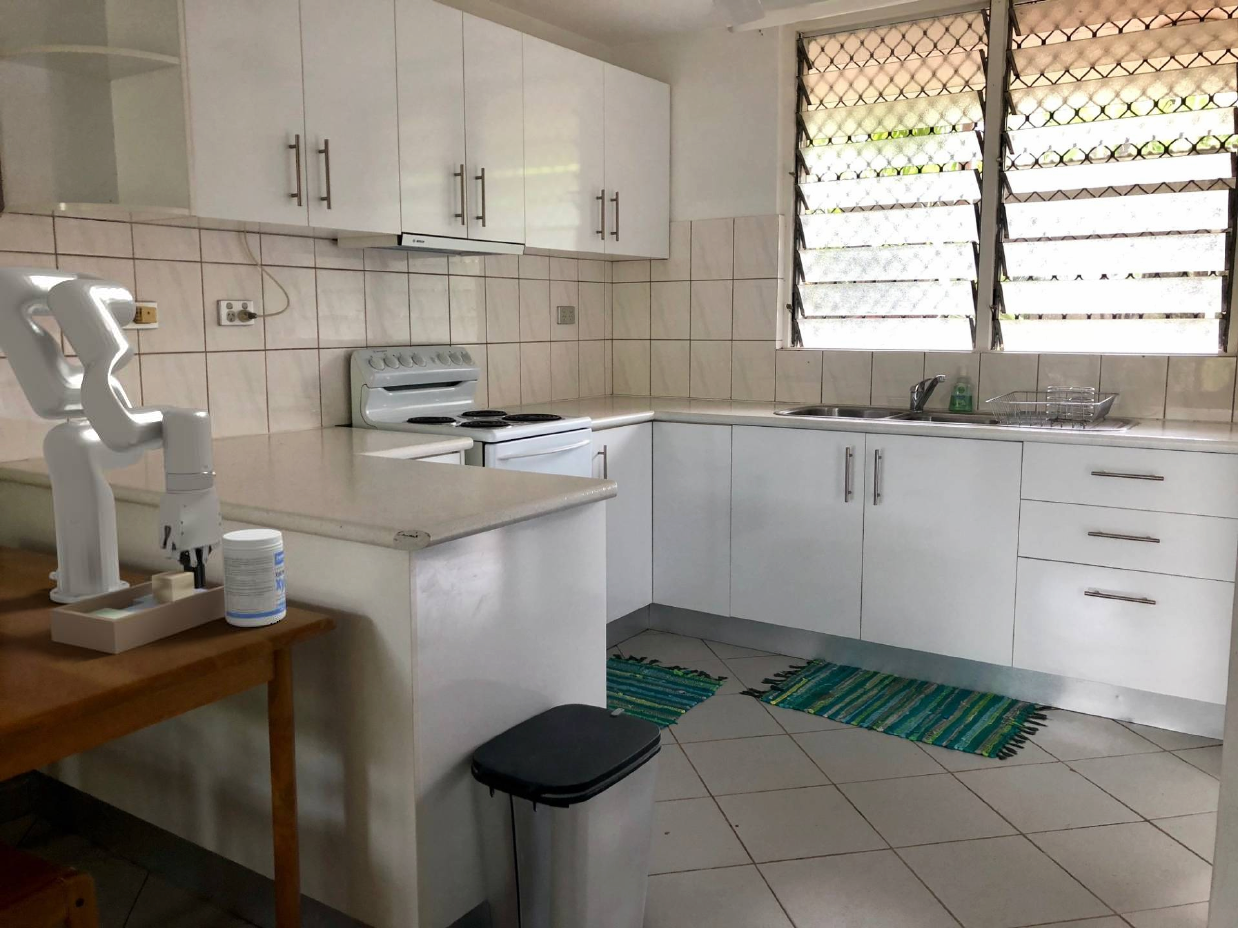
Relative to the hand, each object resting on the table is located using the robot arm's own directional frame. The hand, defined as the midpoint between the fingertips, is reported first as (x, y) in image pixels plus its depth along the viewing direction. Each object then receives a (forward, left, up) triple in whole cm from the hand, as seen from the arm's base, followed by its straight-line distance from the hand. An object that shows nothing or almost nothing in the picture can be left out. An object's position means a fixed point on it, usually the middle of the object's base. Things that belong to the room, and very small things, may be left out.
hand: (195, 586), depth 166 cm
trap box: (0, -9, -4) cm, 10 cm away
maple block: (0, -5, -1) cm, 5 cm away
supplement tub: (+13, +1, -4) cm, 13 cm away
